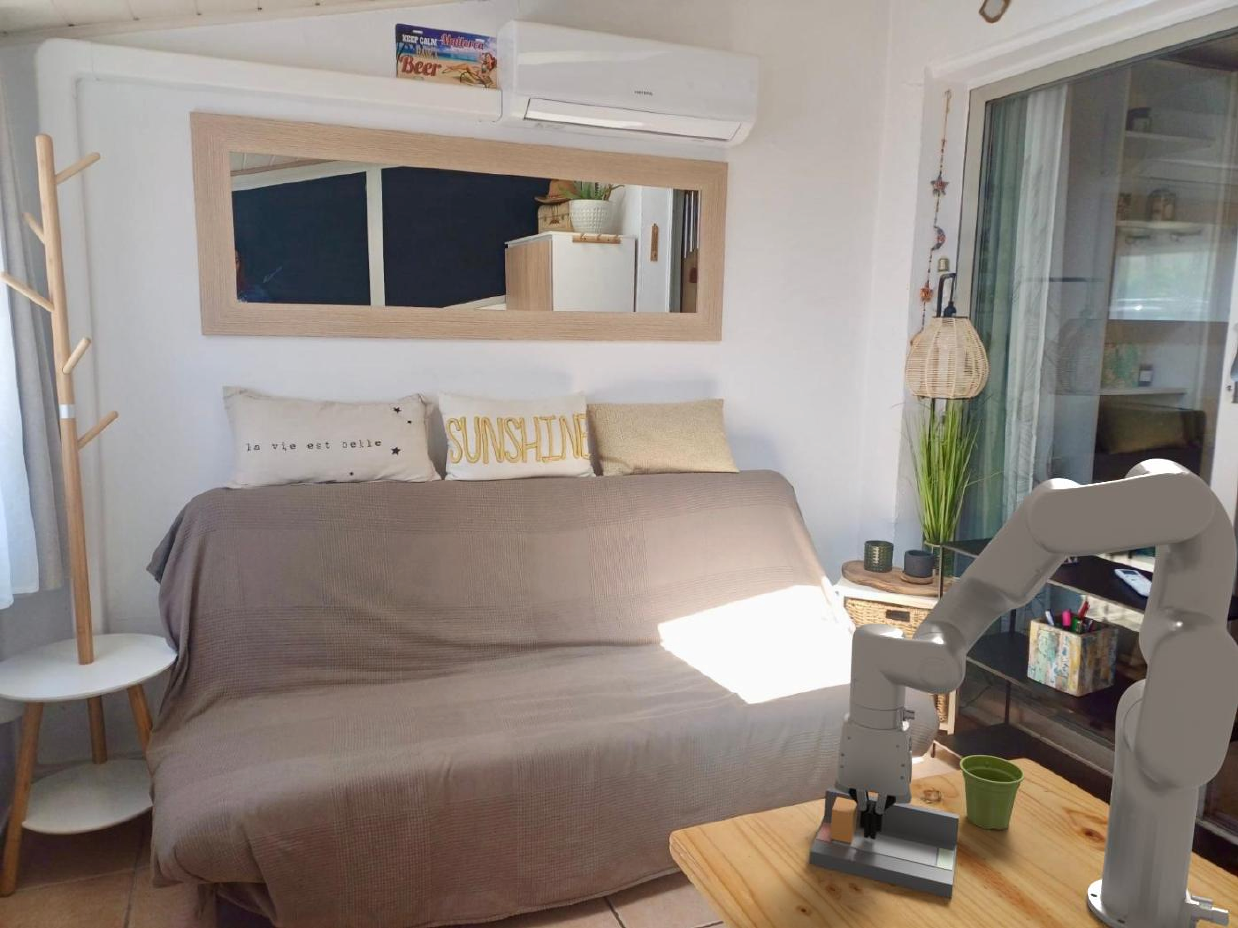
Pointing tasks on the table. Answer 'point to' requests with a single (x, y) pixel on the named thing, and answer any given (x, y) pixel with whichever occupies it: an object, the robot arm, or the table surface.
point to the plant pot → (990, 789)
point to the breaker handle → (843, 820)
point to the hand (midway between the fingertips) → (870, 833)
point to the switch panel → (894, 847)
